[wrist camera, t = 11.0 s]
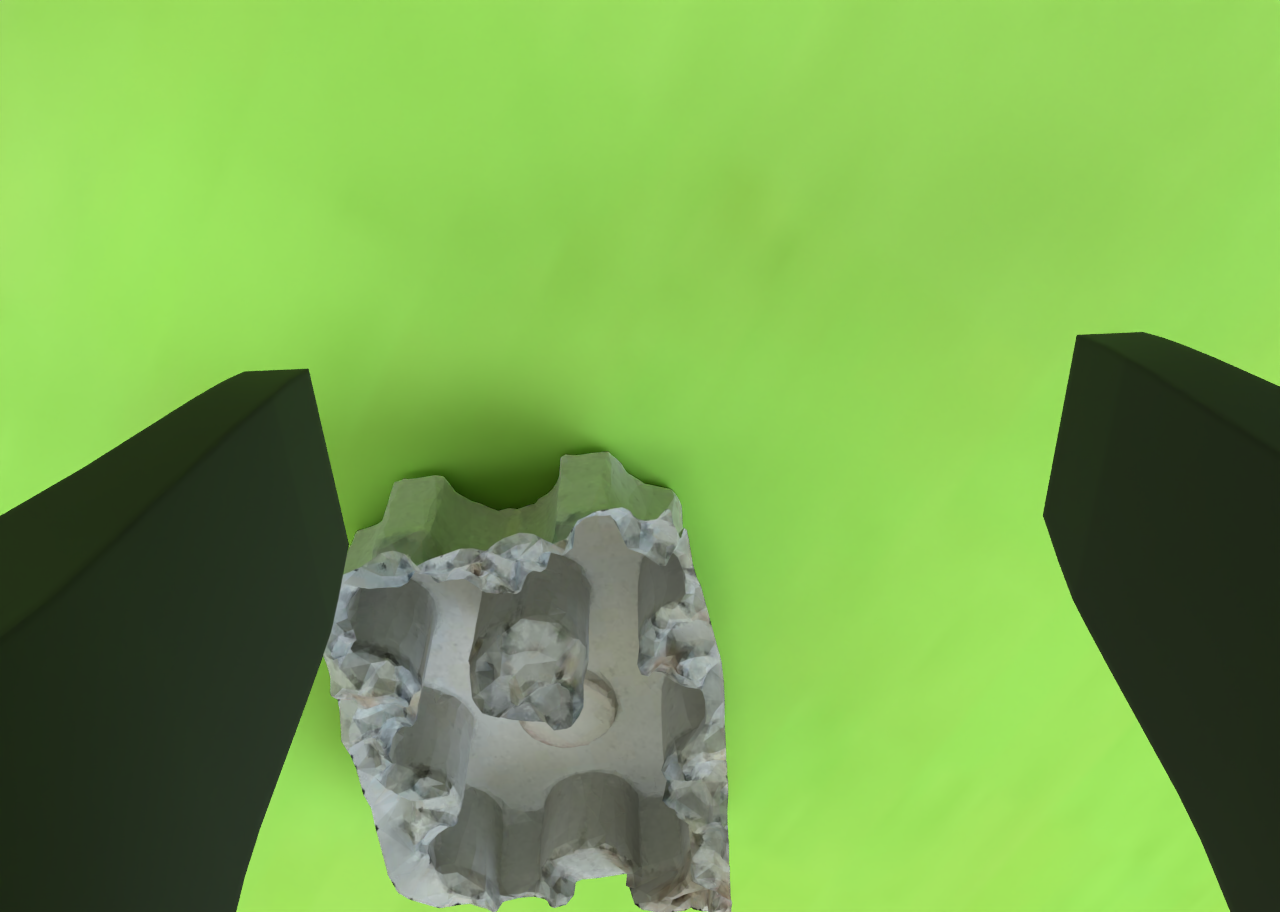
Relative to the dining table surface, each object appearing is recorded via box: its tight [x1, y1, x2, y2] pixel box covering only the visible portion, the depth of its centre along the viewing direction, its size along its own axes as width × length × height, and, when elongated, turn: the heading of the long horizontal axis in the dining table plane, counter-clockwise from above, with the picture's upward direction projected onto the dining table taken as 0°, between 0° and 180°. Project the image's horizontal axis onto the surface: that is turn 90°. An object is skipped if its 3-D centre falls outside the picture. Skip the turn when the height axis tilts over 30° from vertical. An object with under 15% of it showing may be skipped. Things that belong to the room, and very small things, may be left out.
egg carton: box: [323, 452, 732, 912], centre depth 23 cm, size 11×8×4 cm
